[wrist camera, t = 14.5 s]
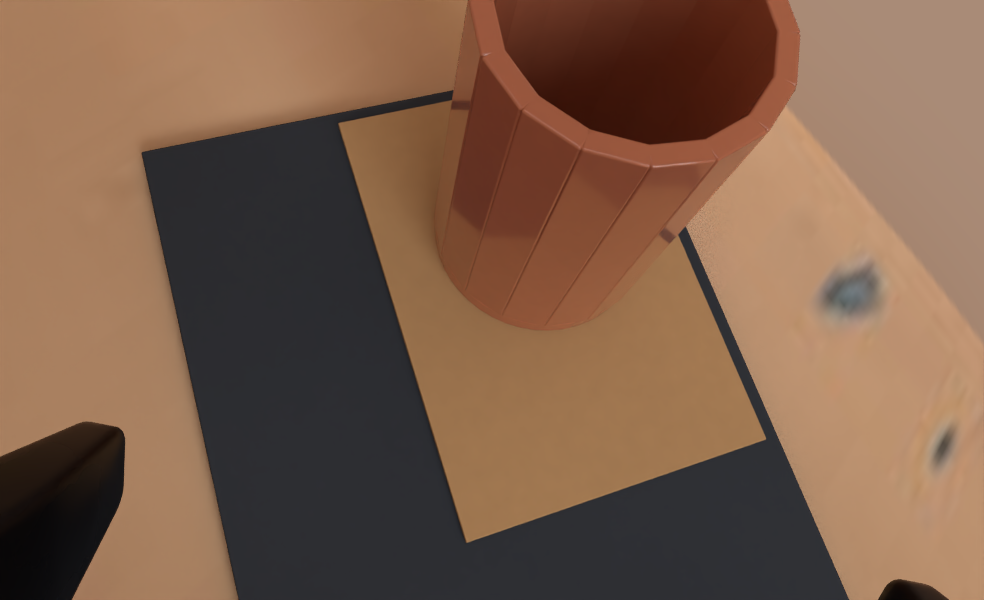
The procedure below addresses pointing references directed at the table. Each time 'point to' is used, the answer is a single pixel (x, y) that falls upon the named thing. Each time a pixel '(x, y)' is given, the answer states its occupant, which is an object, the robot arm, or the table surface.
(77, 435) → the robot arm
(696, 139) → the cup
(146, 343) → the table surface
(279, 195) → the desk mat
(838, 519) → the table surface
